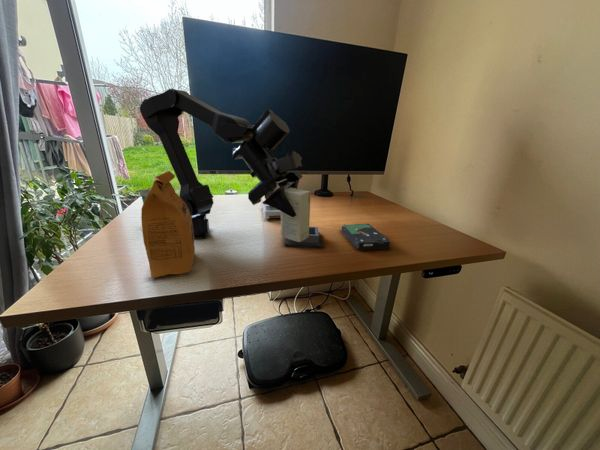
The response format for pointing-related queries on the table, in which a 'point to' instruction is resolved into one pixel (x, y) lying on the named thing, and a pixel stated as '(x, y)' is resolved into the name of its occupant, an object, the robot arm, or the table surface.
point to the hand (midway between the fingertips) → (298, 213)
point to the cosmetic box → (298, 224)
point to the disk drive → (365, 237)
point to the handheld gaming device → (271, 212)
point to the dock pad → (307, 240)
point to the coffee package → (167, 229)
